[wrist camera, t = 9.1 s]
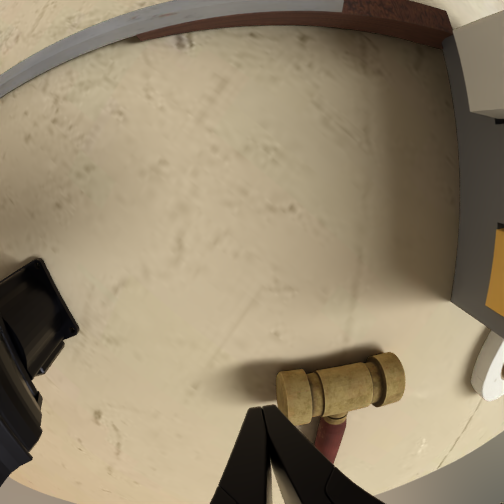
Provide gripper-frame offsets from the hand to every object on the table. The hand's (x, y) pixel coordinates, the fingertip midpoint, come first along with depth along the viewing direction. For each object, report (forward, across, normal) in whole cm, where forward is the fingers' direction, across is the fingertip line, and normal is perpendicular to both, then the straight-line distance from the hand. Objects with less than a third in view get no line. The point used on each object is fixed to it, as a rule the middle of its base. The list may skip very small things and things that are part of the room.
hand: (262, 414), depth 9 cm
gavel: (+13, -6, +18) cm, 23 cm away
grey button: (+7, -17, -14) cm, 23 cm away
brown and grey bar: (+13, 0, -18) cm, 22 cm away
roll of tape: (+13, -34, +16) cm, 40 cm away
